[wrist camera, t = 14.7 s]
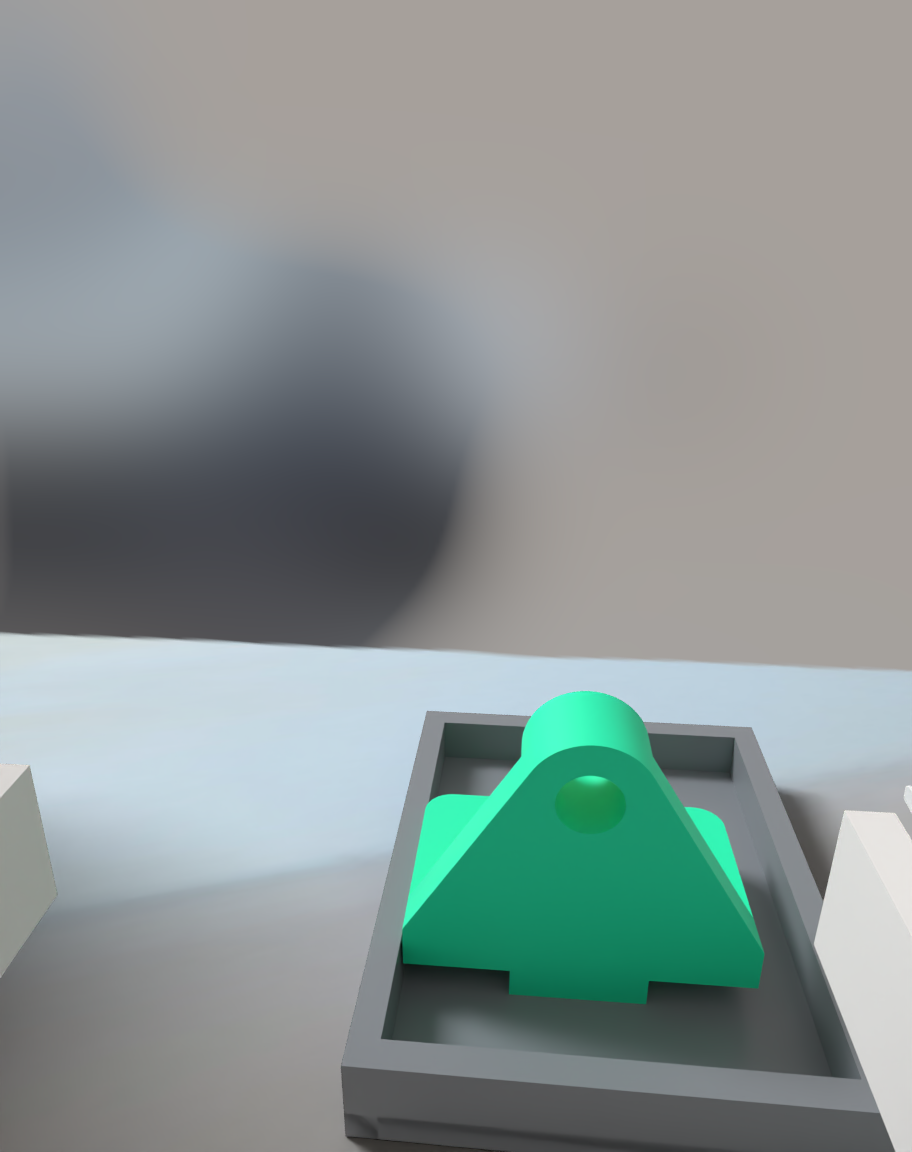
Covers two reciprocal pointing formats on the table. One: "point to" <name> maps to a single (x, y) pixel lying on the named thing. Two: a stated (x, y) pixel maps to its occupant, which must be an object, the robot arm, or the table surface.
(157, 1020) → the table surface
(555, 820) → the green mounting bracket
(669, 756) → the tray
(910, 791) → the external hard drive
